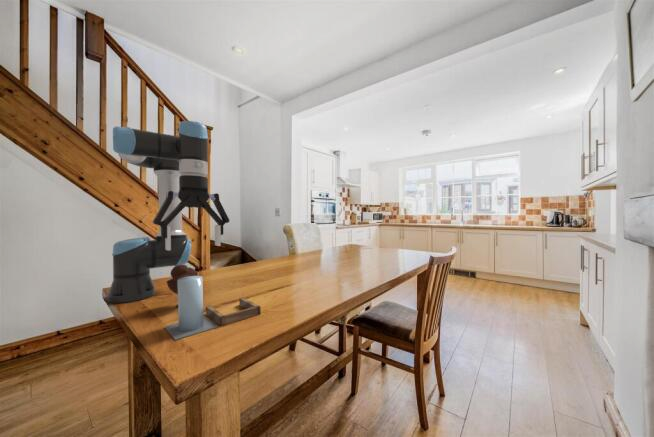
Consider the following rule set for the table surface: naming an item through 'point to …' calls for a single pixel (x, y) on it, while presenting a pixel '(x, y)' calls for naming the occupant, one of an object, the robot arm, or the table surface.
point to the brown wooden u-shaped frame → (222, 319)
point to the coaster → (178, 334)
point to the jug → (190, 303)
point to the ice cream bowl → (179, 276)
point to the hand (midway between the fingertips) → (194, 247)
